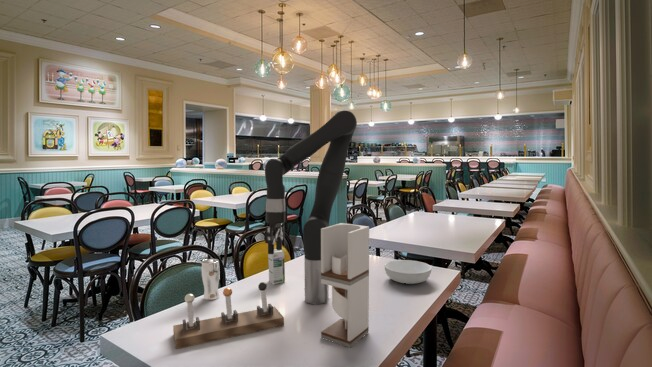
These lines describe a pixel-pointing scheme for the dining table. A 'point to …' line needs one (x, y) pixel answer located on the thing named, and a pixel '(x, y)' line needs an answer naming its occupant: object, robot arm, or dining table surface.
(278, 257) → the syrup box
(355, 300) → the display case
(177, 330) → the switch panel
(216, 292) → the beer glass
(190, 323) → the cream lever
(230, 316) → the orange lever
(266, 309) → the black lever
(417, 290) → the dining table surface
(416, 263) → the serving bowl
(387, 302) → the dining table surface
